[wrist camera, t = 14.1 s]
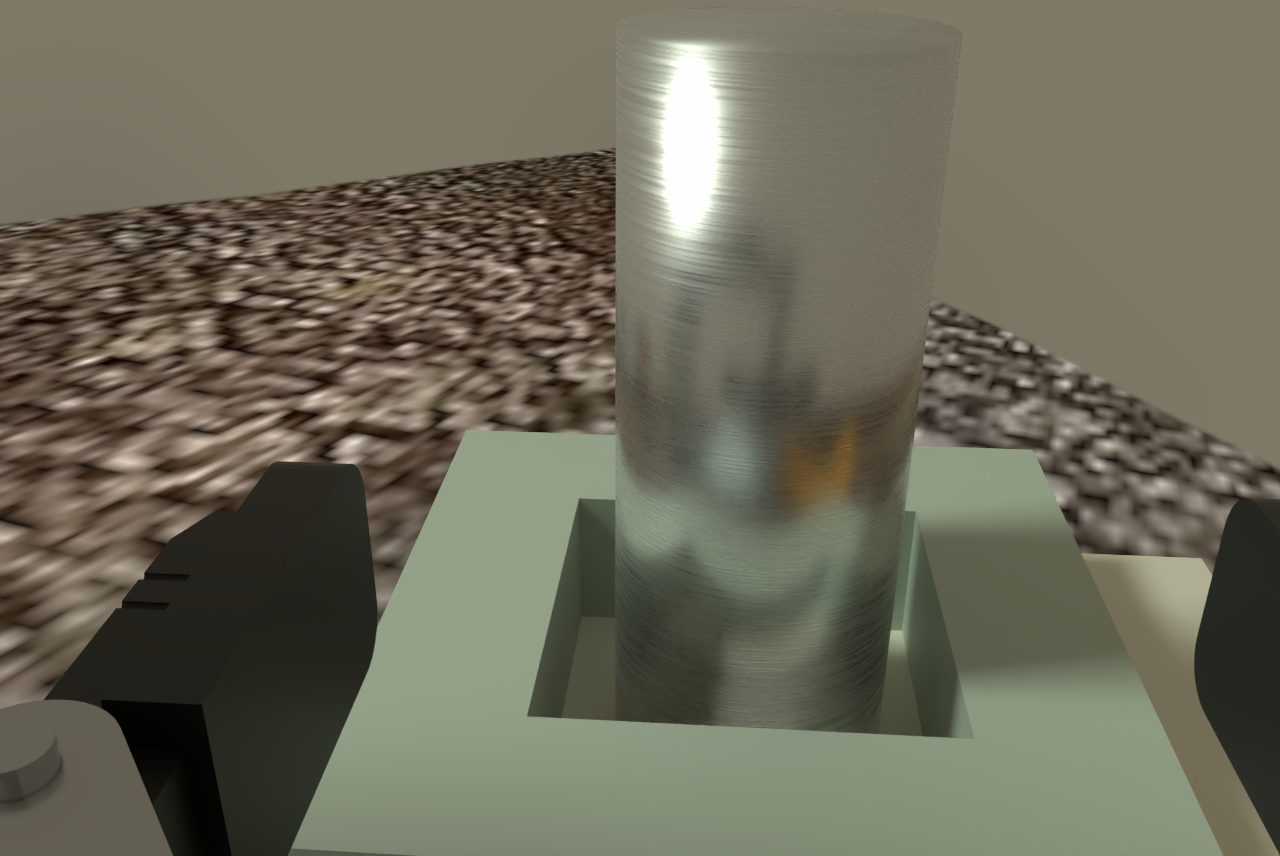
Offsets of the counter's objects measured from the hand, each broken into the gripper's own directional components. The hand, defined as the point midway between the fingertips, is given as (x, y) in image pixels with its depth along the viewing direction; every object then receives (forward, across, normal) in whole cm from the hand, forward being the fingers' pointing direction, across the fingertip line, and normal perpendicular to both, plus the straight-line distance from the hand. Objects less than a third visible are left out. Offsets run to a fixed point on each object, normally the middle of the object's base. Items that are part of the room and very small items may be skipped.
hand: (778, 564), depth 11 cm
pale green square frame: (+9, -2, +10) cm, 14 cm away
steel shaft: (+9, 0, +9) cm, 13 cm away
